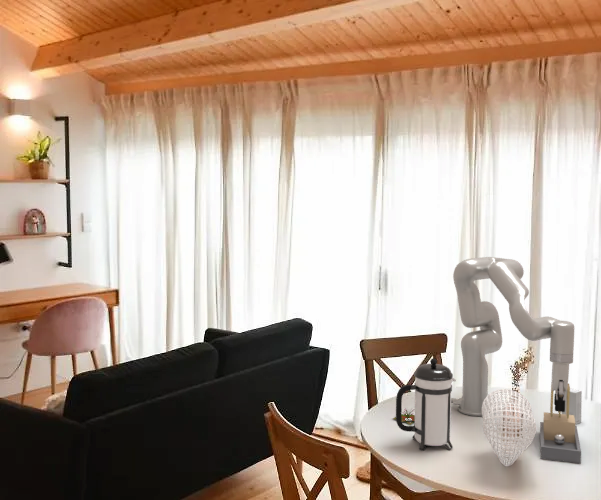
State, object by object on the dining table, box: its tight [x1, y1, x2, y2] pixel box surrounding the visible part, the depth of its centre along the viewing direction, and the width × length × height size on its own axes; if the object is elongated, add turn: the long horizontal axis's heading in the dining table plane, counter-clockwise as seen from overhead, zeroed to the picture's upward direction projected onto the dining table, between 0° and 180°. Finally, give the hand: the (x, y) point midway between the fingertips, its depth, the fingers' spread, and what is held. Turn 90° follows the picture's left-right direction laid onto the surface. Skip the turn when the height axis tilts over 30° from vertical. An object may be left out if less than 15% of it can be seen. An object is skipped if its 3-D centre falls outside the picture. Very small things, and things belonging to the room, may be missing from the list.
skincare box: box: [561, 387, 583, 425], centre depth 253 cm, size 6×4×12 cm
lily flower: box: [392, 408, 415, 426], centre depth 256 cm, size 12×12×5 cm
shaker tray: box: [539, 411, 582, 465], centre depth 229 cm, size 12×24×8 cm, turn 161°
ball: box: [554, 434, 565, 444], centre depth 229 cm, size 3×3×3 cm
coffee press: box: [395, 357, 457, 452], centre depth 230 cm, size 17×16×30 cm
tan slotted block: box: [549, 381, 571, 419], centre depth 234 cm, size 6×6×11 cm
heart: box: [481, 388, 537, 467], centre depth 213 cm, size 28×16×22 cm, turn 167°
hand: (559, 407), depth 234 cm, fingers closed on tan slotted block, 5 cm apart
